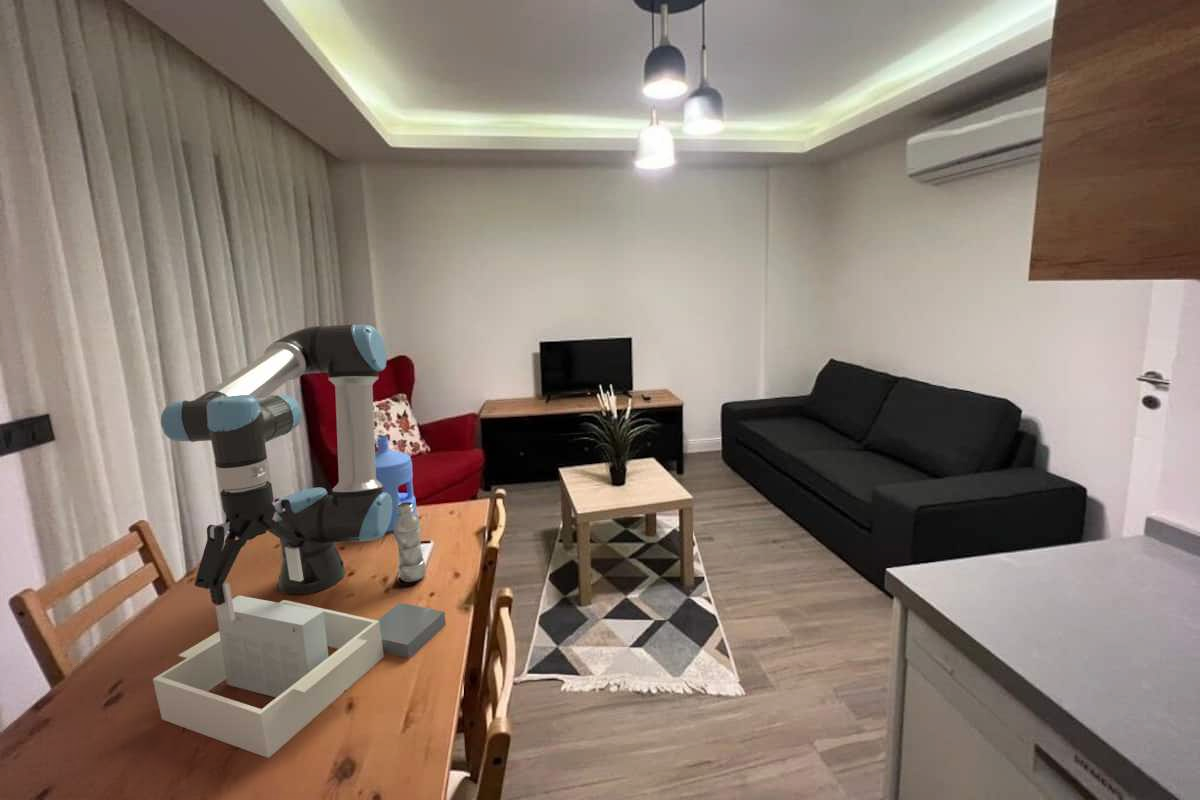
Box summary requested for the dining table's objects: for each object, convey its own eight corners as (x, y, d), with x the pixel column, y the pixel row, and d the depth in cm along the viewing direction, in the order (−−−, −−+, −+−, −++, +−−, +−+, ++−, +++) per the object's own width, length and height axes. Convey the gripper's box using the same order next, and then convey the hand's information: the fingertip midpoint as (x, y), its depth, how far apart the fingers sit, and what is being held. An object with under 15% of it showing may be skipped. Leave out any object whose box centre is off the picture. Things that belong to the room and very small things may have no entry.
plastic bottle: (432, 574, 142) (424, 501, 138) (413, 587, 136) (404, 511, 132) (413, 570, 145) (404, 498, 141) (393, 582, 139) (384, 507, 135)
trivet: (361, 646, 114) (359, 633, 114) (401, 614, 125) (399, 602, 125) (409, 658, 110) (407, 645, 109) (445, 624, 121) (444, 611, 120)
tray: (152, 716, 97) (143, 675, 96) (280, 631, 121) (275, 597, 119) (280, 762, 86) (272, 717, 85) (393, 659, 110) (389, 623, 108)
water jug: (366, 537, 166) (354, 447, 160) (365, 518, 180) (354, 435, 175) (420, 527, 172) (411, 440, 166) (415, 509, 186) (406, 428, 181)
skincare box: (336, 687, 103) (324, 610, 99) (312, 708, 98) (299, 627, 94) (252, 666, 109) (238, 593, 106) (225, 685, 104) (211, 608, 101)
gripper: (185, 514, 83) (209, 642, 87) (321, 465, 106) (335, 568, 110) (152, 509, 86) (177, 634, 89) (292, 462, 108) (306, 563, 112)
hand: (264, 598), depth 100 cm, fingers open, 13 cm apart
